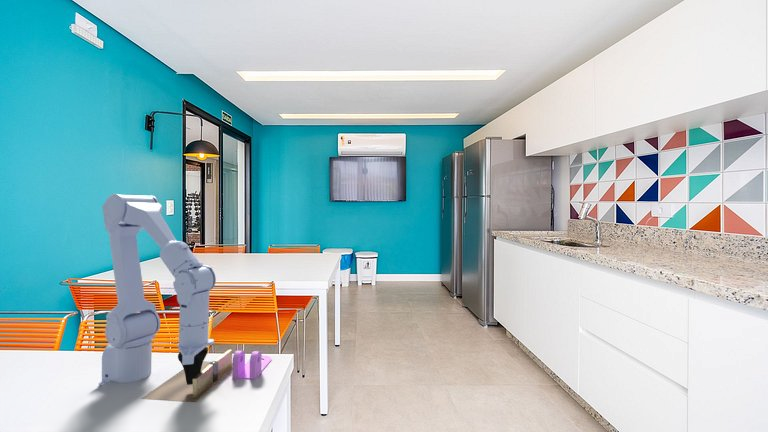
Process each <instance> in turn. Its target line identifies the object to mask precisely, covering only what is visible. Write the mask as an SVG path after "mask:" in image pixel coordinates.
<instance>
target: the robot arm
mask: <svg viewBox="0 0 768 432" xmlns="http://www.w3.org/2000/svg"><path fill="white" fill-rule="evenodd" d="M101 208H102V213H103V215H102V217H103V221H104V228H105V231H106V232H108V237H109V245H110V252H111V253H110V254H111V260H112V269H113V276H114V283H115V291H116V298H117V299H116V300H117V305H115V307H113V308H112V309H111V310H110V311H109V312H108V313H107V314H106V316H105V317H106V324H105V329H104V335H105V339H106V342H108V345H106V347H105V348H104V349H103V352H102V356H101V381H100V382H99V383H98V386H104V385H105V384H107V383H109V382H111V381H113V382H117V383H120V384H121V383H124V384H125V383H133V382H138V381H140V380H143V379H145V378H146V379H147V377H149V376H150V375H151V374H152V358H153V357H152V345H153V344H152V342H153V340H154V339H155V338H156V335H157V334H158V332H159V331H160V328H161V318H160V316H159V314H158V311H157V309H156V304H154V303H153V302H151V301H149V300H147V299H146V298H145V292H144V291H145V290H144V285H143V283H144V282H143V276H142V269H141V262H140V254H139V246H138V239H137V235H138V234H139V233H140V231H142V230H145V232H146V233H147V234H148V235H149V236H150V238H152V239H153V241H154V242H155V243H156V244H157V245H158V247H159V248H160V249H161V250H160V251H159V258H160V259H161V261H162V262H163V264H164V265H165V266H166V268H167V269H168V270H169V272H170V273H171V275H172V276H173V278H174V281H173V282H172V286H173V289H174V292H175V293H176V301H177V303H178V304H179V321H178V322H179V324H178V325H179V326H178V330H179V331H178V343H177V349H178V351H179V352H178V354H177V359H178V361H179V362H180V364H181V366H182V367H183V369H184V372H185V377H186V382H187V385H190V384H193V378H194V377H196V376H197V375H198V374H199V373H200V372H201V368H202V363H203V361H205V359H206V357H207V355H208V352H209V347H208V346H213V345H214V343H215V339H213V338H210V339H209V321H210V320H209V319H210V317H209V316H210V315H209V313H210V291H211V290H213V289H214V288H215V285H216V281H217V277H216V274H215V271H214V269H213V267H211V266H209V265H206V264H204V263H203V262H200V261H199V260H198V259H197V257H196V256H195V254H194V253H193V251H192V250H191V249H190V246H189V245H188V244H187V243H186V242H184V241H181V240H177V238H175V235H174V234H173V232H172V231H171V228H170V227H169V225H168V224H167V222H166V220H165V219H164V217H163V215H162V213H163V206H162V204H161V203H160V202H159V199H158V198H157V197H156V196H154V195H150V194H149V195H148V194H147V195H139V194H138V195H136V194H135V195H134V194H133V195H132V194H119V193H112V194H109V196H108V197H107V198H106V200H105V202H104V204H103V205H102V207H101Z"/></svg>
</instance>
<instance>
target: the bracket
mask: <svg viewBox="0 0 768 432" xmlns="http://www.w3.org/2000/svg"><path fill="white" fill-rule="evenodd" d="M271 361H272V357H271V356H270V355H269V356H268V355H262V351H260V350H259V351H258V350H254V351H252V353H251V355H250V359H249V360H248V361H247V362H246V353H245V350H236V351H234V353H233V355H232V371H231V372H232V375H231V378H232V379H238V380H256V379H257V378H258V377H259V376H260V375H261V373H262V372H263V371H264V370H265V369H266V368H267V367H268V365H269V364H270V363H271Z"/></svg>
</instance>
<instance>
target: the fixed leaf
mask: <svg viewBox="0 0 768 432" xmlns="http://www.w3.org/2000/svg"><path fill="white" fill-rule="evenodd" d="M209 362H210V365H213V382H215V381H217V380H218V378H219V377H220V376H221V375H222V374H223V373H224V372H226V371H227V370H228V369H229V368H230V367H231V366H232V363H233V350H232V349H228V350H227V351H225V352H224V353H223V354H222V355H220V356H218V357H217V358H216V359H215V360H212V361H209Z"/></svg>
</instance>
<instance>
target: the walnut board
mask: <svg viewBox="0 0 768 432" xmlns="http://www.w3.org/2000/svg"><path fill="white" fill-rule="evenodd" d="M210 362H211V361H205V360H204V361H203V363H202V368H201V371H203V370H204V369H205V368H206V367H207V366H209V365H210ZM230 372H232V366H231V367H230V368H229V369H228V370H227V371H226V372H224V373H223V374H222V375H221V376H220V377H219V378H218V380H217V381H215V382H212V383H211V384H210V385H209V386H208V387H207V388H206V389H205V390H204V391H203V392H202V393H201V394H200V395H199V396H197V397H196V398H193V384H190V385H187V382H186V377H185V372H184V368H183V369H182V370H179V372H177V373H175V374H174V375H173V376H172V377H170V378H169V379H167V380H166V381H164V382H163V383H161V384H160V385H158V386H157V387H156V388H154V389H153V390H151V391H150V392H149V393H147V394H145V395H144V396H142V398H141V399H142V400H153V401H155V400H157V401H168V402H169V401H170V402H185V403H197V402H198V401H199V400H200V399H201V398H202V397H203V396H205V395H206V394H207V393H208V392H209V391H210V390H212V389H213V388H214V387H215V386H216V385H217V384H218V383H220V381H222V380H223V379H224V378H226V376H227V375H229V374H230Z"/></svg>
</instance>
